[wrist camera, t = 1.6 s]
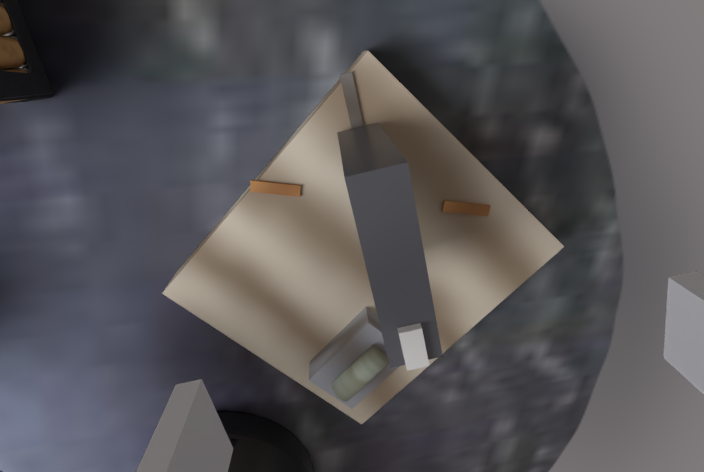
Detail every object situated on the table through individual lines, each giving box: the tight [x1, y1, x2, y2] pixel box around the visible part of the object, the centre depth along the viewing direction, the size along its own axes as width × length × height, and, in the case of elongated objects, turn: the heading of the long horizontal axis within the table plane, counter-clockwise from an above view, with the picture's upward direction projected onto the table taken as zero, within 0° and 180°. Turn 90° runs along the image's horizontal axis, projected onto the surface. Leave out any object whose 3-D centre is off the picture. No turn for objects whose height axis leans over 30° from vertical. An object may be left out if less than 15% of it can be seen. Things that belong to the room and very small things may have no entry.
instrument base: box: [162, 51, 564, 424], centre depth 29 cm, size 20×18×6 cm
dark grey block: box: [337, 123, 443, 371], centre depth 23 cm, size 9×2×10 cm, turn 13°
